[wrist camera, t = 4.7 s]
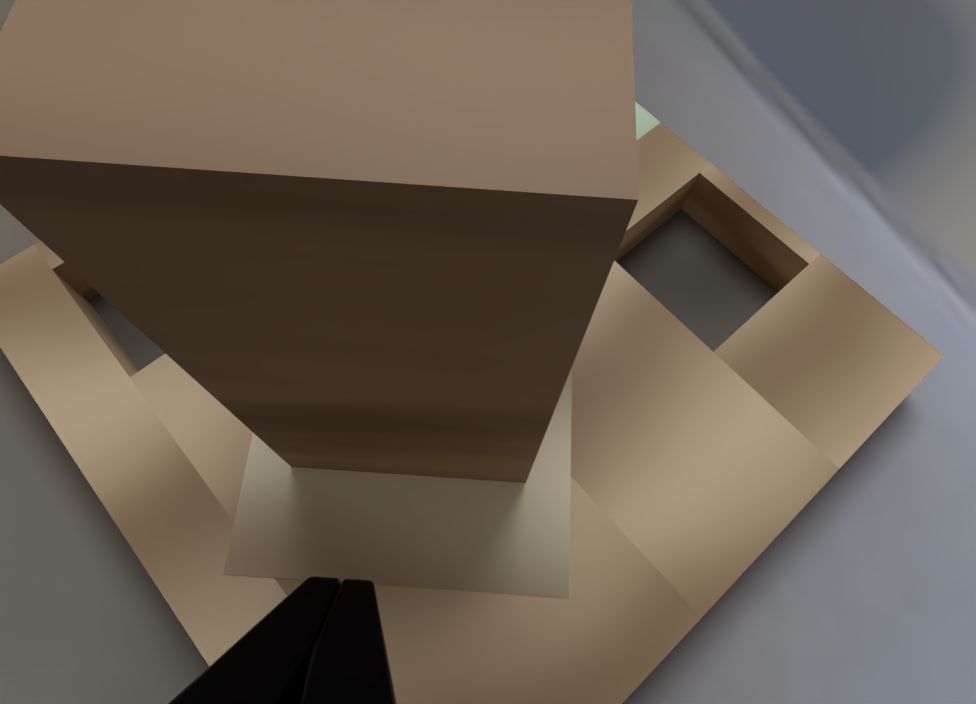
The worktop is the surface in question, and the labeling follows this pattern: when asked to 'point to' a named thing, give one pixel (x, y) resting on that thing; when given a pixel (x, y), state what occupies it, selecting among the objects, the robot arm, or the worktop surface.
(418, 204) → the walnut box
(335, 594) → the robot arm
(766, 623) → the worktop surface
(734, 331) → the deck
